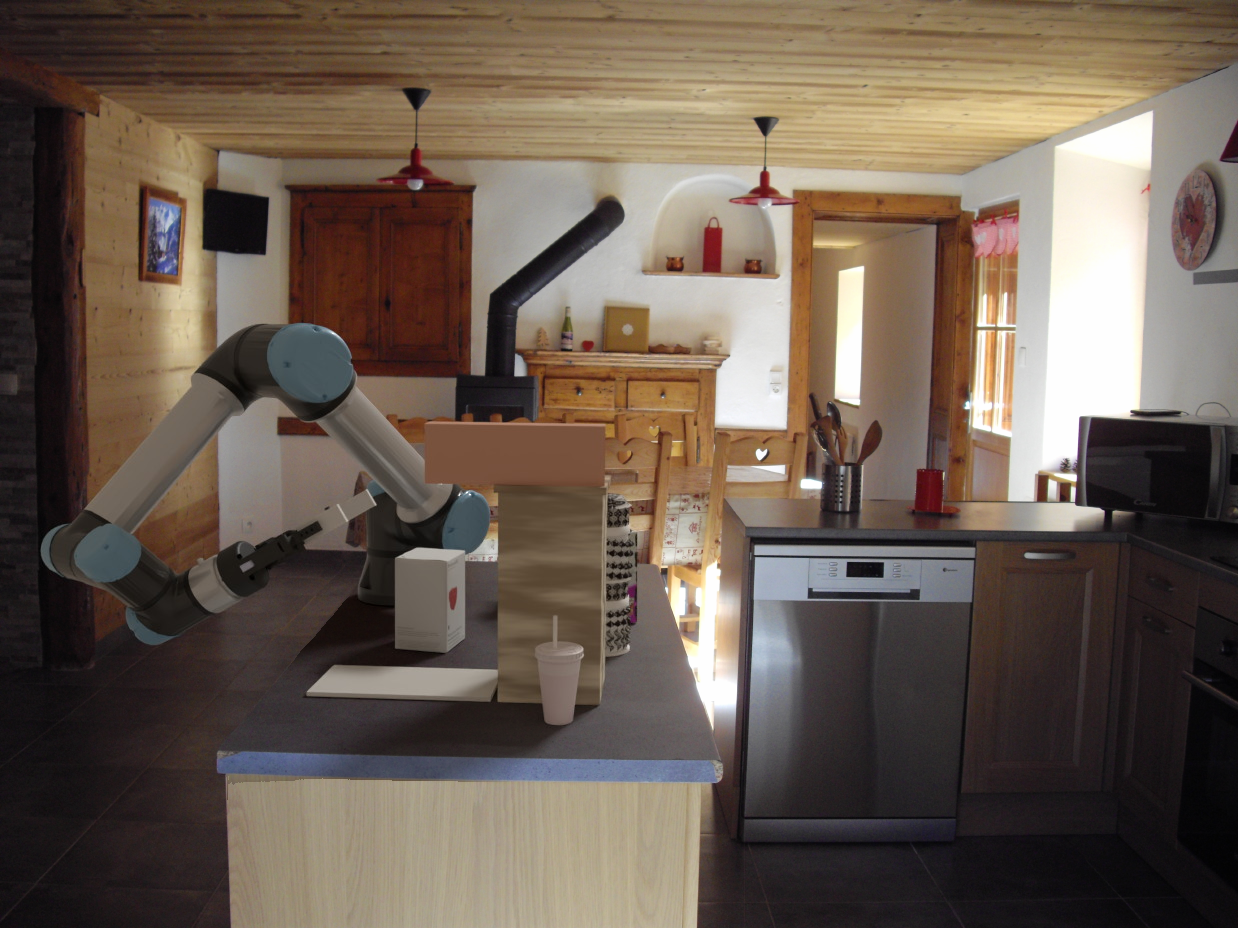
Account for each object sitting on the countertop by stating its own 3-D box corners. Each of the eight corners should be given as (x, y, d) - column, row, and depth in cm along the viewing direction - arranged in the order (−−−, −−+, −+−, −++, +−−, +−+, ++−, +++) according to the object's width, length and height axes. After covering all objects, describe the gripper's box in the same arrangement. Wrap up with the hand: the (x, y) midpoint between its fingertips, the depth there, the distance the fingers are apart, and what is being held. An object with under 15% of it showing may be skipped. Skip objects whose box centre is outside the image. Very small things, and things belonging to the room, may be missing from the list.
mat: (333, 668, 156) (333, 664, 156) (503, 673, 155) (503, 669, 155) (306, 695, 144) (306, 691, 144) (490, 701, 143) (490, 697, 143)
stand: (507, 672, 156) (508, 472, 152) (608, 675, 155) (611, 474, 151) (493, 702, 143) (493, 485, 139) (603, 706, 142) (606, 487, 138)
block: (429, 479, 144) (429, 421, 143) (604, 482, 144) (605, 424, 143) (424, 483, 140) (424, 423, 139) (604, 486, 140) (605, 426, 139)
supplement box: (447, 654, 164) (446, 560, 162) (393, 649, 166) (392, 557, 164) (467, 638, 173) (466, 549, 171) (416, 634, 175) (415, 546, 173)
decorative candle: (570, 641, 172) (572, 491, 169) (625, 639, 174) (628, 490, 171) (580, 658, 163) (581, 500, 160) (638, 655, 165) (640, 499, 162)
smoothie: (534, 711, 140) (534, 609, 138) (582, 710, 140) (583, 608, 139) (534, 729, 133) (534, 622, 132) (584, 728, 134) (585, 621, 132)
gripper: (176, 572, 136) (313, 494, 134) (252, 536, 161) (369, 470, 159) (206, 621, 137) (343, 545, 135) (277, 578, 162) (394, 512, 159)
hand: (357, 504), depth 147 cm, fingers open, 13 cm apart
